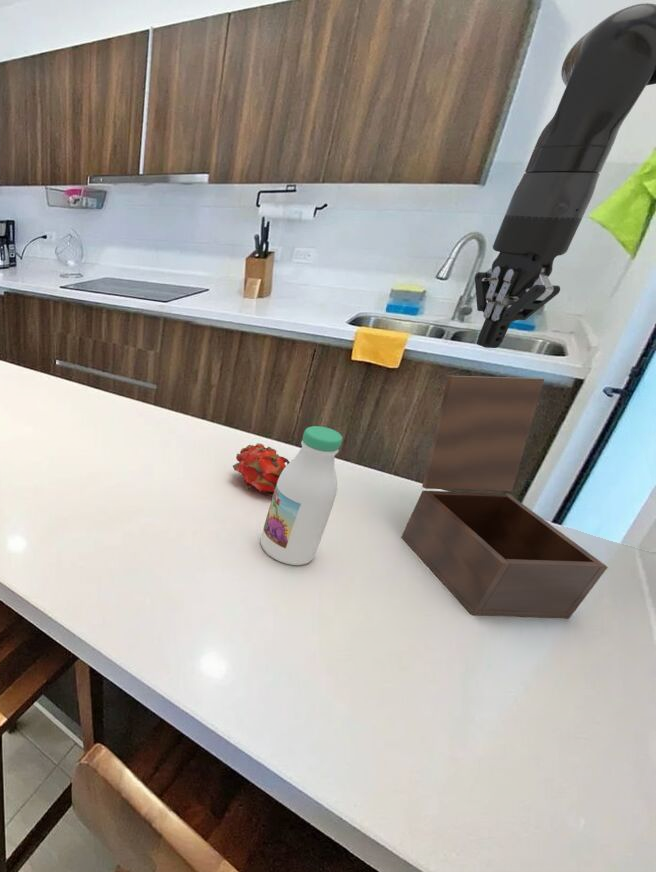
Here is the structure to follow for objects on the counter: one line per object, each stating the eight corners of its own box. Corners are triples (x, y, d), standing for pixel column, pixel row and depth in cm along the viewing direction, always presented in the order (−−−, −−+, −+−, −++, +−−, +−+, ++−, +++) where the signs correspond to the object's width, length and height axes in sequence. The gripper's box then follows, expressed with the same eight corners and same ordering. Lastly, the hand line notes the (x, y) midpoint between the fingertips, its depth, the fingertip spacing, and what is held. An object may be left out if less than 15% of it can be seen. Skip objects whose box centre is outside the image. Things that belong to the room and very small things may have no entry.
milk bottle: (309, 538, 78) (349, 424, 68) (318, 571, 71) (363, 451, 62) (257, 529, 80) (289, 416, 70) (261, 560, 73) (296, 441, 63)
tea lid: (544, 379, 69) (539, 378, 70) (452, 376, 69) (447, 375, 70) (512, 491, 74) (507, 489, 74) (425, 488, 74) (421, 486, 75)
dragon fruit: (228, 476, 96) (285, 513, 89) (216, 468, 89) (276, 506, 82) (255, 440, 95) (314, 474, 88) (244, 428, 88) (307, 464, 81)
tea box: (569, 618, 65) (608, 567, 61) (471, 615, 65) (502, 563, 61) (482, 539, 79) (508, 493, 74) (400, 536, 79) (422, 490, 74)
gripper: (622, 216, 57) (550, 361, 65) (536, 212, 69) (484, 335, 77) (552, 215, 58) (489, 359, 66) (478, 210, 70) (432, 333, 78)
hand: (486, 346), depth 71 cm, fingers closed
